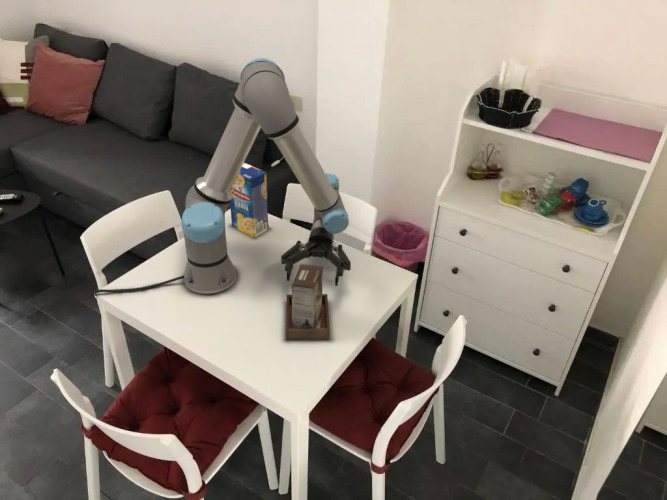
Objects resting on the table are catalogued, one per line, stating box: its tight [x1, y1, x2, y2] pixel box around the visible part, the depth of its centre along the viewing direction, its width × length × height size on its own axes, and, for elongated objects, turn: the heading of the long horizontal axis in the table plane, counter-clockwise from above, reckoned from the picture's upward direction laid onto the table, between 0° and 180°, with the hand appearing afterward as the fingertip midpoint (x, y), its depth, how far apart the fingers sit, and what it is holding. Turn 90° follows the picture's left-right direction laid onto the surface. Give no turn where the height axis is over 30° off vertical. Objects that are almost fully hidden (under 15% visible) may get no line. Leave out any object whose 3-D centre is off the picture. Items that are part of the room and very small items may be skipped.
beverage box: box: [229, 162, 269, 238], centre depth 181 cm, size 7×11×22 cm, turn 52°
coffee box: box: [291, 263, 324, 328], centre depth 145 cm, size 9×6×16 cm
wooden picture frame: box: [285, 293, 331, 341], centre depth 149 cm, size 12×15×4 cm
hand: (311, 279), depth 150 cm, fingers open, 13 cm apart
